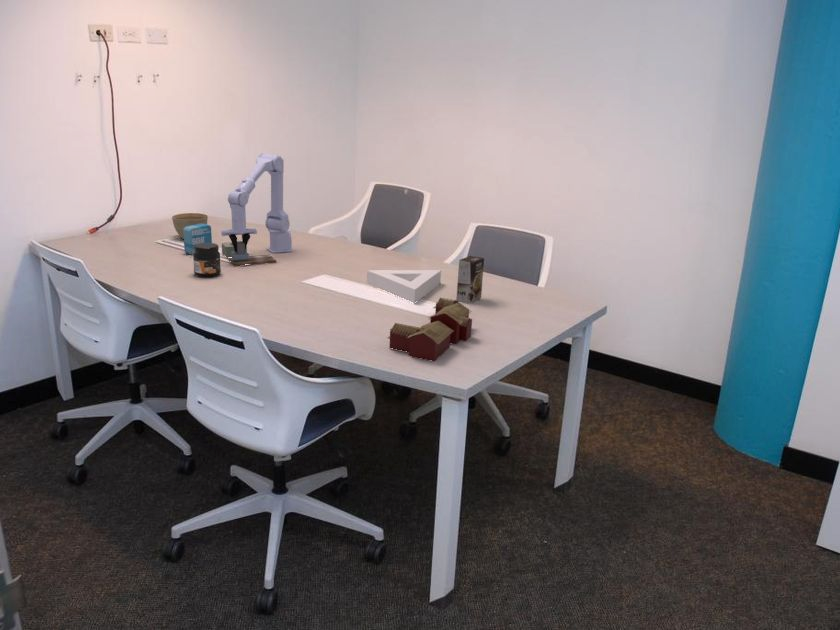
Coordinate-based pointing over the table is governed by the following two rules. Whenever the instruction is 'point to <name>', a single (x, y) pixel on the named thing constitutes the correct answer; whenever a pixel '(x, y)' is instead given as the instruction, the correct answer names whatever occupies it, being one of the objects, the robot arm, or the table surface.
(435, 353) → the toy houses
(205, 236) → the data package
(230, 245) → the cabinet
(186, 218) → the planter bowl
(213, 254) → the supplement container
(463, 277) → the coffee box
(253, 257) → the rail
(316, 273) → the table surface
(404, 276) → the triangle block
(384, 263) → the table surface
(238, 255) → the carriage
